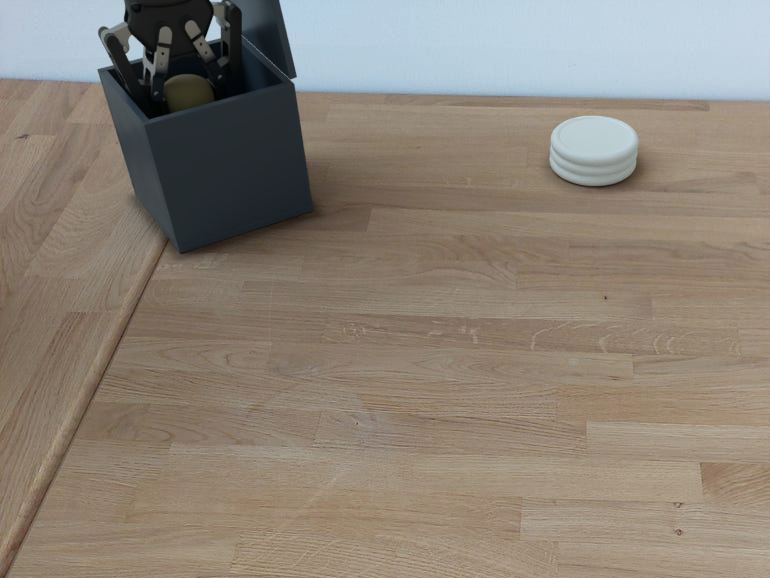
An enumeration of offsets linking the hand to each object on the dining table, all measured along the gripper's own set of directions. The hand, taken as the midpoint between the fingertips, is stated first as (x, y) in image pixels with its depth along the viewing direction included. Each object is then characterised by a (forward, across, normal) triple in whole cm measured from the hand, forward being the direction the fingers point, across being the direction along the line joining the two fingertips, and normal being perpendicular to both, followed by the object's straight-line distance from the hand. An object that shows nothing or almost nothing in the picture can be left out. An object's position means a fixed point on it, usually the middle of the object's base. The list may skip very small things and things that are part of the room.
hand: (195, 126), depth 100 cm
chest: (+9, +1, 0) cm, 9 cm away
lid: (-13, +8, 0) cm, 15 cm away
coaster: (+9, +41, -15) cm, 44 cm away
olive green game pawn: (+7, 0, 0) cm, 7 cm away
